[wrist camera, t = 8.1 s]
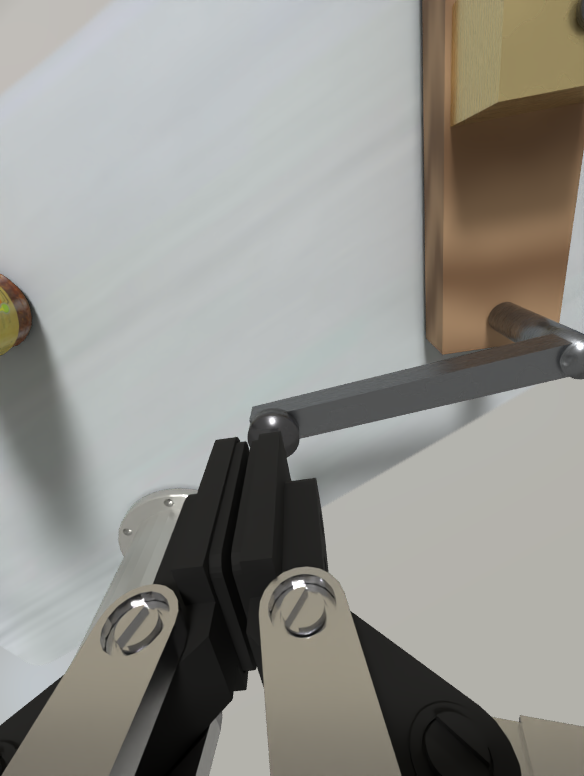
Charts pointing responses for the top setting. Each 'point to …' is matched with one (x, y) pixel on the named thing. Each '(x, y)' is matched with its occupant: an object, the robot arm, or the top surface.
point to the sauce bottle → (13, 315)
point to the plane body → (492, 204)
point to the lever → (433, 380)
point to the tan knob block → (515, 57)
